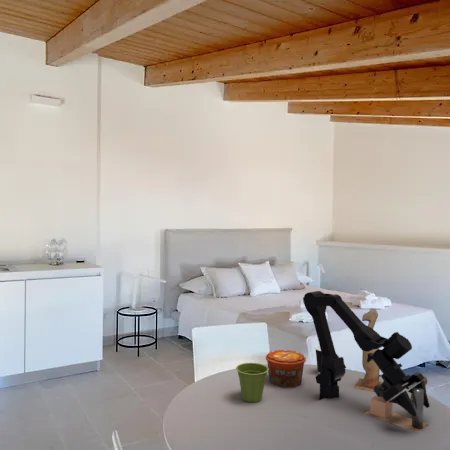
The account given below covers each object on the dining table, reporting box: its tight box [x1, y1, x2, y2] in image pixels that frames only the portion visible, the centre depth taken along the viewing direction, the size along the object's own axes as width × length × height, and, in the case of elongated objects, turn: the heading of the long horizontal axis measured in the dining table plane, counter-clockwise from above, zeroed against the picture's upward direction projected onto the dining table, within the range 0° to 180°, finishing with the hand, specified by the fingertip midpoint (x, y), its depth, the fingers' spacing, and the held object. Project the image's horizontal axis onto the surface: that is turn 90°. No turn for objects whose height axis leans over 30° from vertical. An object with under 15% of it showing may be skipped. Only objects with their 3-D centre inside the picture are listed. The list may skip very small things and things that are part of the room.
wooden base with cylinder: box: [363, 388, 430, 434], centre depth 143 cm, size 18×8×13 cm, turn 42°
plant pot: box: [235, 362, 269, 403], centre depth 161 cm, size 12×12×11 cm
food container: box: [265, 349, 307, 388], centre depth 178 cm, size 16×16×11 cm
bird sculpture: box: [353, 307, 383, 393], centre depth 170 cm, size 11×12×32 cm
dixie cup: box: [314, 345, 322, 375], centre depth 187 cm, size 8×8×11 cm
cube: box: [370, 394, 393, 418], centre depth 147 cm, size 5×5×5 cm
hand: (422, 411), depth 137 cm, fingers open, 9 cm apart
